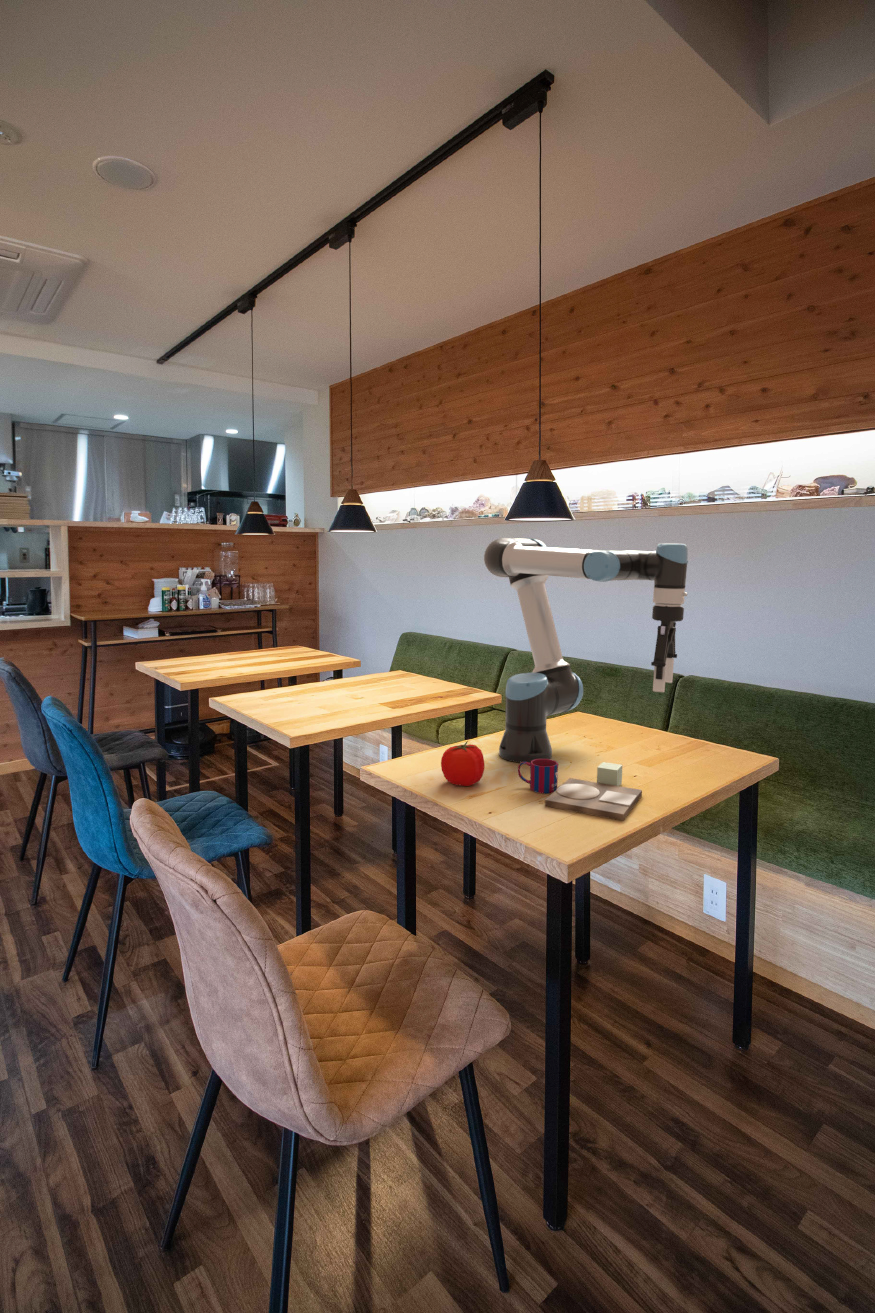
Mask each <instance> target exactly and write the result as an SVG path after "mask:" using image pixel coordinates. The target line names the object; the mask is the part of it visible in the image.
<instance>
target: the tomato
mask: <svg viewBox="0 0 875 1313" xmlns="http://www.w3.org/2000/svg"><path fill="white" fill-rule="evenodd" d="M468 742H469V741H468V740H467V741H466V742H465V743H464V744H459V745H454V746H453V745H452V746H450V747H448V748H447V749H446V750H445V751H444V752H443V754H442V756H441V760H440V767H441V772H442V774H443V777H444V778H445V780H446V781H447V782H448V783H450V784H453V785H455V786H460V787H461V786H462V787H469V786H473V785H475V784H477V783H478V782H480V781H481V780H482V778H483V775H484V772H485V757H484V754H483V752H482V750H481V749H480V747H478V746H477V745H475V744H471V743H470V744H468Z"/></svg>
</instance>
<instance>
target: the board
mask: <svg viewBox="0 0 875 1313" xmlns="http://www.w3.org/2000/svg"><path fill="white" fill-rule="evenodd" d="M642 796H643V790H642V789H639V788H632V787H626V786H621V785H620V786H615V785H609V784H603V783H597V781H590V780H583V779H577V778H571V777H569V778H568V779H567V780H566V781H564V782H563V783H562V784H561V785H560V786H557V790H556V791H554V792H553V793H550V795H549V796H547V798H545V799H544V807H548V808H554V809H558V810H564V811H569V812H574V813H579V814H586V815H591V816H596V817H601V818H604V819H605V818H606V819H612V820H617V821H622V822H624V821H625V819H626V818H627V816H628V815H629V814H630V813H631V811H632V810H633V808H634V807H635V806H636V804H637V803H638V802H639V801H640V799H641V798H642Z"/></svg>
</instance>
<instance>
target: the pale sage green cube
mask: <svg viewBox="0 0 875 1313" xmlns="http://www.w3.org/2000/svg"><path fill="white" fill-rule="evenodd" d="M596 782H597V783H603V784H609V785H615V786H621V785H622V784H623V764H619V763H612V762H605V761H603V762H601V763H600V764H599V765H597V768H596Z"/></svg>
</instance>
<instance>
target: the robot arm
mask: <svg viewBox="0 0 875 1313" xmlns="http://www.w3.org/2000/svg"><path fill="white" fill-rule="evenodd" d="M688 550H689V549H688V546H687V545H686V544H685V543H658V544H657V545H656V549H655V550H652V551H650V550H649V551H647V550H631V549H630V550H629V549H628V550H605V549H584V548H583V549H582V548H581V549H580V548H569V547H568V548H566V547H548V546H547V545H546V544H545V543H544V542H543V541H541V540H540V539H536V538H531V537H521V538H518V537H516V538H515V537H514V538H513V537H501V538H500V537H499V538H496V539H495V540H492V541H491V542H490V543H489V544H488V545H487V547H486V549H485V551H484V555H483V560H484V565H485V567H486V569H487V570H488V572H489V573H491V574H492V575H493V576H496V577H499V578H508V580H509V585H510V587H511V588H512V589H513V590H516V592H517V596H518V600H519V605H520V609H521V613H522V617H523V621H524V625H525V626H524V627H525V630H526V634H527V638H528V642H529V646H530V651H531V654H532V659H533V662H534V668H533V670H532V671H531V672H522V673H518V674H517V673H516V674H514V675H511V676H510V677H509V678H508V679H507V681H506V688H505V694H504V695H505V729H504V732H503V735H502V737H501V741H500V744H499V747H498V748H499V749H498V755H499V757H500V758H502V759H504V760H506V761H510V762H515V763H521V762H528V763H531V761H532V760H535V759H551V758H552V755H553V748H552V744H551V741H550V739H549V735H548V732H547V717H548V716H552V715H555V714H560V713H566V712H569V711H571V710H574V709H575V708H576V707H577V706H578V705H579V704H580V702H581V701H582V699H583V695H584V685H583V681H582V680H581V678H580V677H579V675H577V674H576V673H575V672H573V671H572V668H571V664H570V663H569V662H567V661H565V660H564V658H563V654H562V649H561V646H560V641H559V638H558V634H557V633H558V632H557V629H556V625H555V621H554V617H553V613H552V608H551V604H550V600H549V597H548V591H547V589H546V582H547V580H548V578H549V576H552V577H561V578H571V579H572V578H574V579H582V580H583V579H584V580H585V579H587V580H592V581H594V582H600V583H601V582H605V583H606V582H609V581H611V582H613V581H634V580H635V581H636V580H637V581H638V580H639V581H651V582H652V581H654V584H653V593H652V594H653V597H652V603H654V605H653V606H652V614H651V615H652V616H651V618H652V620H654V621H656V622H660V625H658V626H657V636H656V640H655V641H656V642H655V650H654V657H653V661H651V664H650V665H651V666H653V684H652V692H656V693H665V690H666V688H665V687H666V683H670V684H671V683H673V679H674V678H673V677H674V662H675V659H677V657H678V654H677V652H676V632H677V628H676V625H677V622H682V621H684V612H685V607H684V606H683V605H684V604H685V597H687V596H688V592H686V581H687V580H686V579H687V570H688V563H689V561H688V558H689V557H688V555H689V554H688V552H689V551H688Z"/></svg>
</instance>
